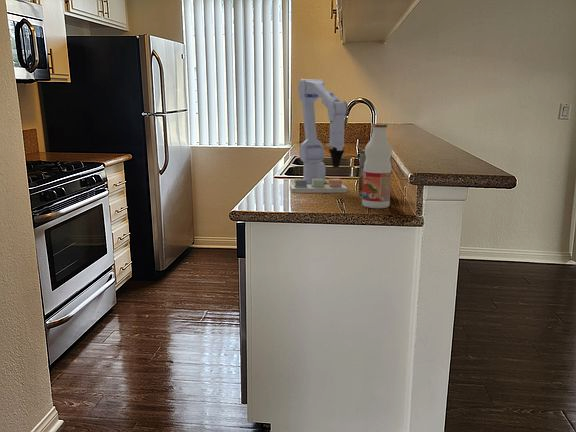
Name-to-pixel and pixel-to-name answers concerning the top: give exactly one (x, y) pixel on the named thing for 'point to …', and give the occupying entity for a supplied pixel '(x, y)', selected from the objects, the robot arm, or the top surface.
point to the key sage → (318, 182)
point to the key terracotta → (335, 182)
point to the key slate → (300, 182)
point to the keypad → (317, 189)
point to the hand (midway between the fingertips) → (335, 167)
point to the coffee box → (361, 172)
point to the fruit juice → (377, 169)
